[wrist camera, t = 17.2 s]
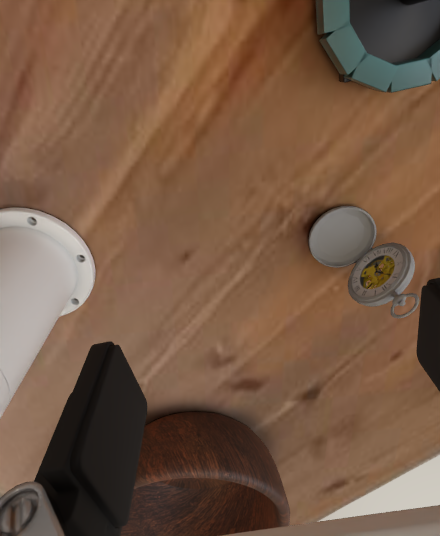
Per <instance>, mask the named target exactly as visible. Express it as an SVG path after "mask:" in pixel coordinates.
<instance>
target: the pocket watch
mask: <svg viewBox="0 0 440 536" xmlns="http://www.w3.org/2000/svg"><path fill="white" fill-rule="evenodd" d="M375 239H376V226H375V223H374V220H373V219H372V217H371V216H370V215H369V214H368V213H367V212H366V211H364V210H362V209H361V208H358V207H354V206H341V207H337V208H334V209H331V210H329V211H327V212H326V213H324V214H323V215H322V216H321V217H320V218H319V219H317V221H316V222H315V223H314V225H313V227H312V229H311V231H310V235H309V248H310V251H311V253H312V255H313V256H314V258H315V259H316V260H317V261H319V262H320V263H321V264H323V265H326V266H329V267H344V266H348V265H351V264H353V263H355V262H356V265H355V267H354V268H353V270H352V272H351V275H350V277H349V281H348V290H349V294H350V295H351V297H352V298H353V299H354V300H355V301H357V302H358V303H359V304H363V305H365V306H379V305H382V304H386V303H388V302H389V301H391V300H393V305H392V307H391V315H392V316H393V317H394V318H403V317H406V316H408V315H409V314H411V313H412V312H413V311H414V310H415V309H416V308H417V306H418V304H419V297H418V296H417V295H416V294H413V293H409V294H401V293H402V292H403V291H404V289H405V288H406V287H407V285H408V284H409V283H410V281H411V279H412V277H413V273H414V269H415V262H414V258H413V256H412V254H411V252H410V251H409V250H408V249H407V248H406V247H405V246H403V245H401V244H398V243H387V244H382V245H380V246H377V247H375V248H374V249H372V246H373V244H374V241H375ZM391 262H393V263H391ZM382 263H383V264H384V267H383V268H379V266H380V265H381V264H382ZM385 263H386V264H385ZM378 265H379V266H378ZM386 265H387V266H386ZM380 269H382V271H381V270H380ZM369 275H370V276H371V277H369ZM368 280H370V281H371V282H369V283H368V286H366V282H367V281H368ZM372 285H373V286H372ZM375 285H377V286H376V287H374V286H375ZM369 287H372V288H370V289H368V288H369ZM373 288H374V289H373ZM409 296H412V297H414V298H415V299H416V303H415V305H414V307H413V308H412V309H411V310H410V311H409V312H408V313H406V314H404V315H396V314H395V313H394V307H395V306H397V305H400V306H404V305H405V302H404V301H405V299H406V297H409Z"/></svg>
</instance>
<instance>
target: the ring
mask: <svg viewBox="0 0 440 536" xmlns="http://www.w3.org/2000/svg"><path fill="white" fill-rule="evenodd" d="M316 16H317V34H318V35H320V34H324V33H326V34H325V35H324V36H323V37H322V38H321V39H320V40H319V41H320V43H321V44H322V46H323V47H324V49H325V51H326V52H327V54H328V55H329V57H330V59H331V60H332V62H333V64H334V65H335V67H336V68H337V70H338V72H339V73H340V74H344V78H347V79H349V80H351V81H354V82H356V83H359V84H361V85H364V86H366V87H369V88H371V89H374V90H376V91H381V92H391V93H392V92H396V91H401V90H405V89H410V88H414V87H419V86H423V85H428V84H431V81H437V80H438V79H440V39H439V40H438V41H437V42H436V43H435V44H433V45H432V46H431V47H430V48H428V49H427V50H426V51H425V52H424V53H422V54H421V55H420V56H419V57H418V58H414V59H409V60H405V61H401V62H396V63H389V62H387V61H385V60H382V59H380V58H378V57H375V56H373V55H371V54H368V53H367V52H366V50H365V49H364V47H363V45H362V43H361V42H360V40H359V38H358V36H357V35H356V33H355V31H354V29H353V27H352V26H351V24H350V8H349V0H316Z"/></svg>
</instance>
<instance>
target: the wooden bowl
mask: <svg viewBox="0 0 440 536" xmlns="http://www.w3.org/2000/svg"><path fill="white" fill-rule="evenodd" d="M289 523H290V509H289V505H288V501H287V497H286V494H285V491H284V488H283V484H282V481H281V478H280V475H279V472H278V470H277V467H276V465H275V462H274V460H273V458H272V456H271V454H270V453H269V451H268V449H267V448H266V446H265V445H264V443H263V442H262V441H261V439H260V438H259V437H258V436H257V435H256V434H255V433H254V432H253V431H252V430H251V429H250V428H248V427H247V426H246V425H244V424H242V423H240V422H238V421H236V420H234V419H232V418H229V417H226V416H223V415H219V414H214V413H207V412H185V413H178V414H173V415H169V416H165V417H163V418H160V419H158V420H155V421H153V422H151V423H149V424H148V425H146V426H145V427H144V433H143V438H142V444H141V450H140V456H139V462H138V467H137V473H136V479H135V485H134V491H133V496H132V502H131V508H130V514H129V519H128V522H127V524H126V525H125V526H122V530H121V535H120V536H222V535H229V534H235V533H242V532H249V531H256V530H263V529H270V528H278V527H285V526H289Z"/></svg>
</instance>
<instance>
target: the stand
mask: <svg viewBox="0 0 440 536" xmlns="http://www.w3.org/2000/svg"><path fill="white" fill-rule="evenodd" d="M349 8H350V24H351V26H352V27H353V29H354V31H355V33H356V35H357V36H358V38H359V40H360V42H361V43H362V45H363V47H364V49H365V50H366V52H367V53H368V54H371V55H373V56H375V57H378V58H380V59H382V60H385V61H387V62H389V63H396V62H401V61H405V60H409V59H414V58H418V57H419V56H420V55H421V54H422V53H424V52H425V51H426V50H427V49H428V48H430V47H431V46H432V45H433V44H435V43H436V42H437V41H438V40H439V39H440V0H349ZM339 81H340V82H344V83H345V82H349V81H351V80H349V79H347V78H344V74H340V73H339Z"/></svg>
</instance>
